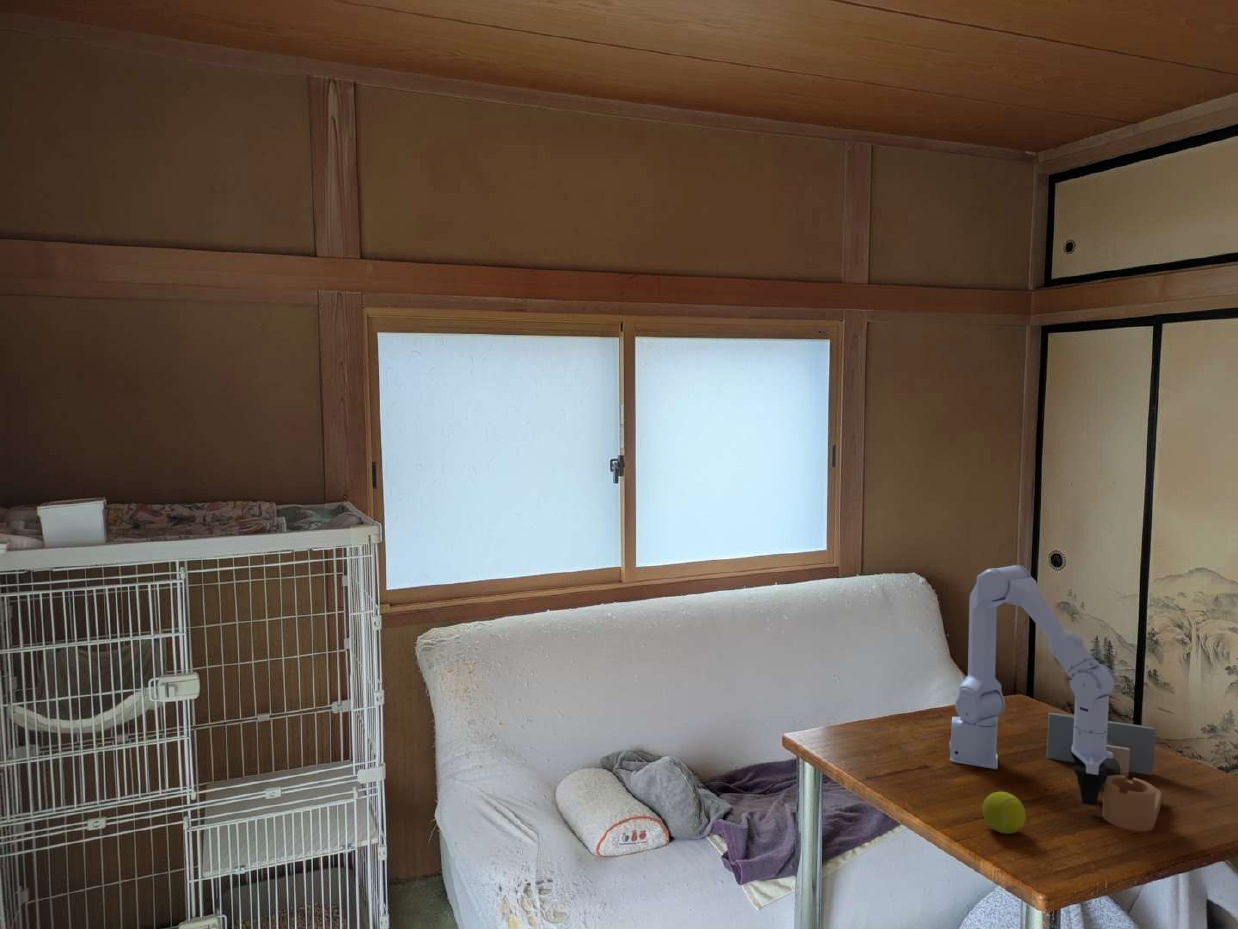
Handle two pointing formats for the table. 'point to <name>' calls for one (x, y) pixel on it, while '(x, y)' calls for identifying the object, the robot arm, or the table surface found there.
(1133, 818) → the bracket
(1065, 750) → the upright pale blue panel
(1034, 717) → the table surface
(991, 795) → the tennis ball
